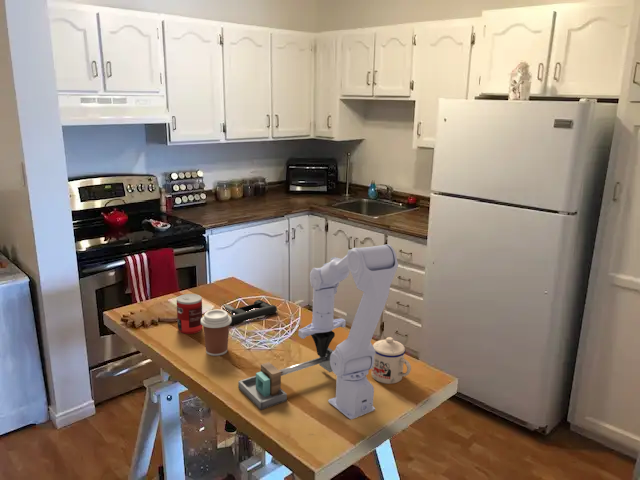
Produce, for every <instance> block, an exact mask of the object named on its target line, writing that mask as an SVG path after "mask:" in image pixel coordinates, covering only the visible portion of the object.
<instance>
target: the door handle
mask: <svg viewBox="0 0 640 480" xmlns="http://www.w3.org/2000/svg"><path fill="white" fill-rule="evenodd" d="M225 305H226V306H225ZM223 306H225V309H226V310H228V311H229V312H231V313H229V312H228V313H229V314H231V315H229V316H230V317H231V319H232V322H231V323H230V324H229V326H232V325H235V324H234V323H236V324H240V323H245V322H244V321H246V320H248V319H251V321H253V320H252V319H255V320H258V319H257V318H259V319H262V318H265V317H266V316H269V315H268V314H270V315H273V314H276V313H277V311H278V307H277V306H276V305H273V304H270V303H268V302H265V301H263V300H262V299H257V300H255V301H254V302H253V303H252V304H249V305H244V306H241V307H237V308H235V307H233V306H231V305H229V304H227V303H225V304H222V307H223ZM253 308H259V309H255V310H251V309H253ZM225 309H224V310H225ZM226 310H225V311H226ZM249 310H251V311H249ZM246 311H247V312H246ZM233 313H235V315H233Z"/></svg>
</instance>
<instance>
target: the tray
mask: <svg viewBox="0 0 640 480" xmlns="http://www.w3.org/2000/svg"><path fill="white" fill-rule="evenodd" d="M237 383H238V384H237V386H238V389H239V390H240V392H242V393H243V394H244V395H246V397H247V398H248V399H249V400H250V401H251V402H252V403H253V404H254V405H255V406H256V407H257V408H258V409H259V410H261V411H262V410H265V409H268V408H271V407H274V406H276V405H278V404H282V403H285V402H287V400H288V398H287V397H288V393H287V392H285V390H283V389H282V388H281V389H279V394H277V395H274V396H272V395H269V396H266V397H264V396H263V395H262V394H261V393H260V392H259V391H258V390H257V389H256V375H253V376H251V377H250V376H249V377H247V378H244V379H241V380H238V382H237Z"/></svg>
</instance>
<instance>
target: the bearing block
mask: <svg viewBox="0 0 640 480" xmlns="http://www.w3.org/2000/svg"><path fill="white" fill-rule="evenodd" d="M279 370H280V369H278V368H277V367H276V366H275V365H273V364H272V363H271V362H270V361H268V362H264V363H262V364H261V363H260V372H263V373H264V374H265V375H266V376H267V377H268V378H269V379H270V395H272V396H274V395H277V394H279V389H282V388H281V386H282V385H281V383H282V376H281V371H279Z"/></svg>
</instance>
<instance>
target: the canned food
mask: <svg viewBox="0 0 640 480" xmlns="http://www.w3.org/2000/svg"><path fill="white" fill-rule="evenodd" d="M202 301H203V298H202V296H201V295H199V294H196V293H185V294H181V295H179V296H177V297H176V317H177V320H176V321H177V329H178V332H179V333H181V334H184V335H194V334H197V333H200V332H201V331H202V329H203V325H202V324H201V318H202V317H203V302H202Z"/></svg>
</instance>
